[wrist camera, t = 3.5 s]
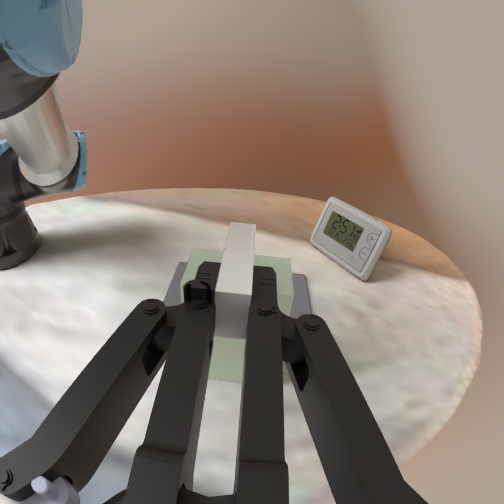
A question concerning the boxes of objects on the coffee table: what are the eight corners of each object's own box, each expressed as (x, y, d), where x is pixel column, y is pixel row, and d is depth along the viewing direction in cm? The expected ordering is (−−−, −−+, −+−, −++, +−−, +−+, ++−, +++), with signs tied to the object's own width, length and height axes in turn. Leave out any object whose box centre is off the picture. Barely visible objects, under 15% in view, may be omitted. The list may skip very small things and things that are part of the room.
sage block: (195, 339, 39) (193, 248, 31) (271, 347, 39) (289, 258, 32) (187, 376, 34) (180, 284, 26) (271, 384, 34) (294, 295, 26)
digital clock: (304, 242, 64) (313, 195, 59) (338, 238, 68) (348, 194, 62) (349, 287, 52) (366, 234, 46) (384, 278, 55) (401, 230, 50)
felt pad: (179, 263, 53) (179, 261, 53) (304, 276, 53) (304, 274, 53) (154, 328, 39) (154, 326, 39) (315, 344, 40) (315, 342, 40)
